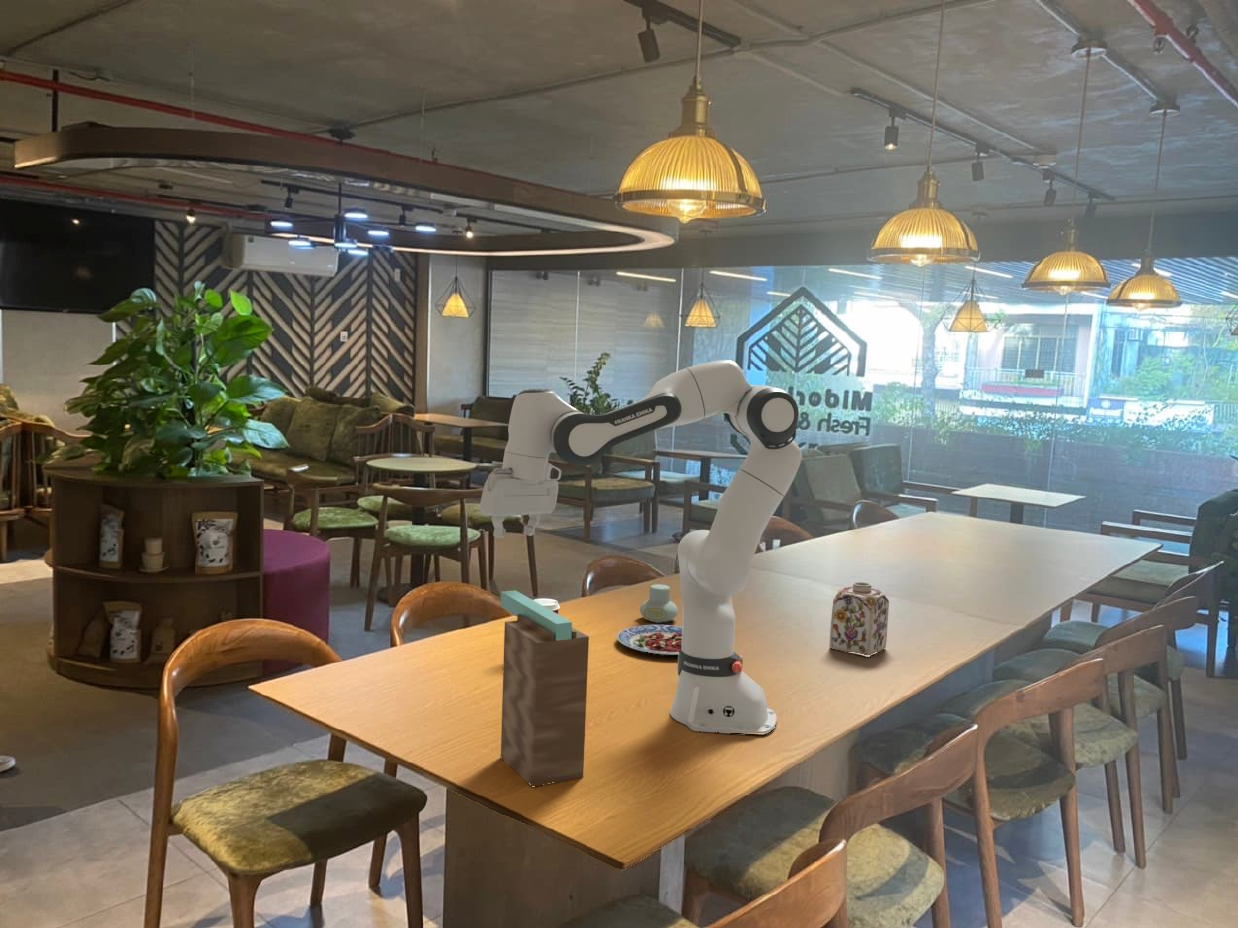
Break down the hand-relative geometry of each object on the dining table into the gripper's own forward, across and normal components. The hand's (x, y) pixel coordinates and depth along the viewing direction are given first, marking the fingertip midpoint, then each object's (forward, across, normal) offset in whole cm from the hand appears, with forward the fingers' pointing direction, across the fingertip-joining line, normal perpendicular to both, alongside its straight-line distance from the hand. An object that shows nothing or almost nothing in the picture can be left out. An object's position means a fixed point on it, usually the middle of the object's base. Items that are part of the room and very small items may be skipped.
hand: (513, 536), depth 194 cm
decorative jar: (+27, +101, -42) cm, 113 cm away
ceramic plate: (+33, +70, -1) cm, 77 cm away
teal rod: (+12, -10, -15) cm, 22 cm away
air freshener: (+32, +89, +13) cm, 96 cm away
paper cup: (+37, +41, +17) cm, 58 cm away
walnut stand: (+38, -10, -22) cm, 45 cm away
